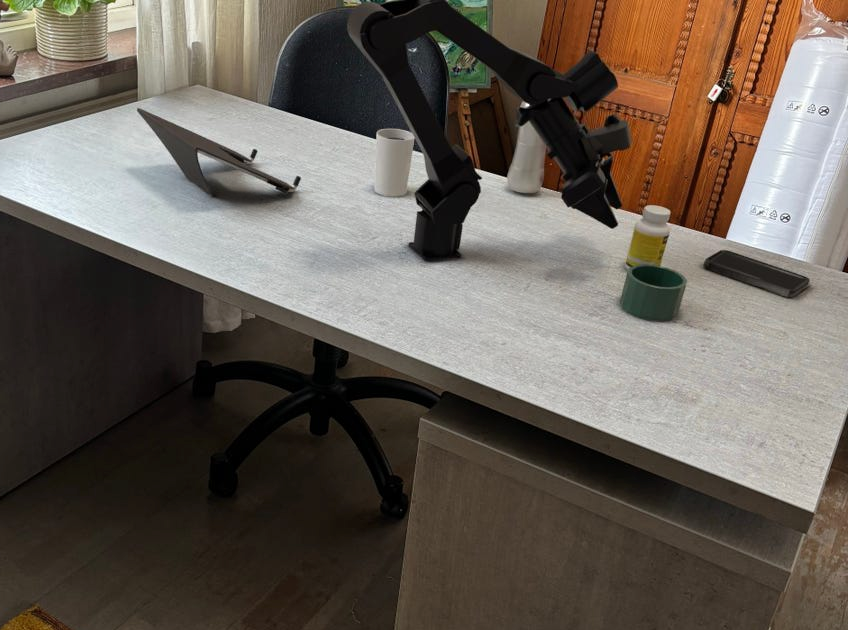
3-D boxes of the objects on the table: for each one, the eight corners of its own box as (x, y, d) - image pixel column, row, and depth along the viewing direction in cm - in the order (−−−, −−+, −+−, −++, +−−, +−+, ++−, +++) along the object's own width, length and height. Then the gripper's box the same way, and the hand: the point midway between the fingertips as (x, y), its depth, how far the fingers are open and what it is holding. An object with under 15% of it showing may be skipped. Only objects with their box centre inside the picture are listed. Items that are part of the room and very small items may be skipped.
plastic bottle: (501, 184, 182) (520, 72, 171) (537, 186, 183) (557, 75, 172) (508, 196, 177) (528, 81, 166) (544, 198, 178) (566, 84, 167)
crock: (643, 324, 138) (652, 291, 135) (608, 298, 144) (616, 267, 141) (689, 317, 141) (699, 285, 138) (653, 292, 147) (662, 261, 144)
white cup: (401, 184, 178) (407, 128, 172) (414, 196, 173) (420, 140, 167) (366, 184, 176) (371, 128, 170) (378, 198, 171) (383, 140, 165)
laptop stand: (289, 233, 170) (312, 184, 167) (179, 190, 153) (202, 134, 151) (228, 190, 185) (248, 144, 182) (121, 146, 168) (141, 95, 166)
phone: (723, 248, 161) (812, 278, 153) (721, 255, 162) (809, 285, 154) (702, 260, 156) (793, 292, 148) (700, 267, 157) (791, 298, 149)
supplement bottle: (659, 279, 152) (676, 218, 146) (624, 273, 152) (639, 212, 147) (658, 266, 156) (674, 206, 150) (623, 260, 157) (639, 201, 151)
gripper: (602, 115, 135) (662, 207, 139) (612, 86, 149) (666, 169, 154) (535, 162, 140) (595, 249, 145) (551, 129, 155) (605, 209, 160)
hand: (617, 217), depth 151 cm, fingers open, 9 cm apart
